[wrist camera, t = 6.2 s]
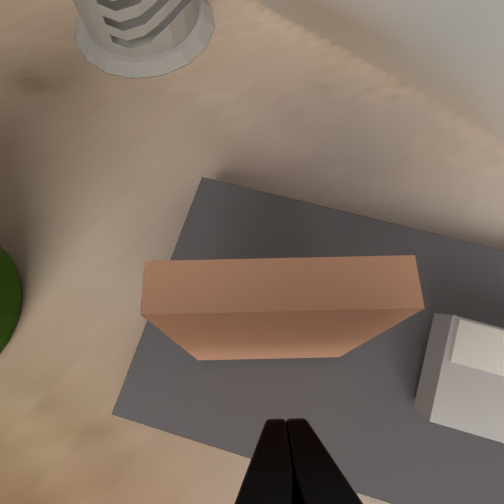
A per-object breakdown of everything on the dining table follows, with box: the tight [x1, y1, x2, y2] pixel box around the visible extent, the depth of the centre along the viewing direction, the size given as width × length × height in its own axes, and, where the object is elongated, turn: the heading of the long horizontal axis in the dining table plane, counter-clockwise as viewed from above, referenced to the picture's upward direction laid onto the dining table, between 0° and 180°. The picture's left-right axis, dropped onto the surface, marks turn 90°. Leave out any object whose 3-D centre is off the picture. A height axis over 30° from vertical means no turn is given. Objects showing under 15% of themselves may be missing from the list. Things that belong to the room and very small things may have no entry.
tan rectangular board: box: [141, 255, 425, 360], centre depth 13 cm, size 1×6×10 cm, turn 91°
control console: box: [112, 177, 504, 504], centre depth 17 cm, size 12×29×4 cm, turn 74°
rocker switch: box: [413, 313, 504, 443], centre depth 15 cm, size 4×5×2 cm
